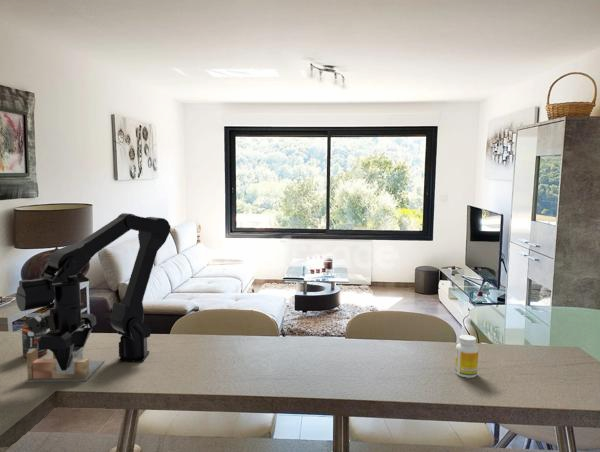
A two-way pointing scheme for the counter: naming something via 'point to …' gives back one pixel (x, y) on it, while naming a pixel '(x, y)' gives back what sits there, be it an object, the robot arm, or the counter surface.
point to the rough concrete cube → (71, 361)
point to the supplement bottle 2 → (466, 357)
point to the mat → (92, 368)
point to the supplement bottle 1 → (31, 337)
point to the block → (52, 367)
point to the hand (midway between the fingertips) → (70, 364)
